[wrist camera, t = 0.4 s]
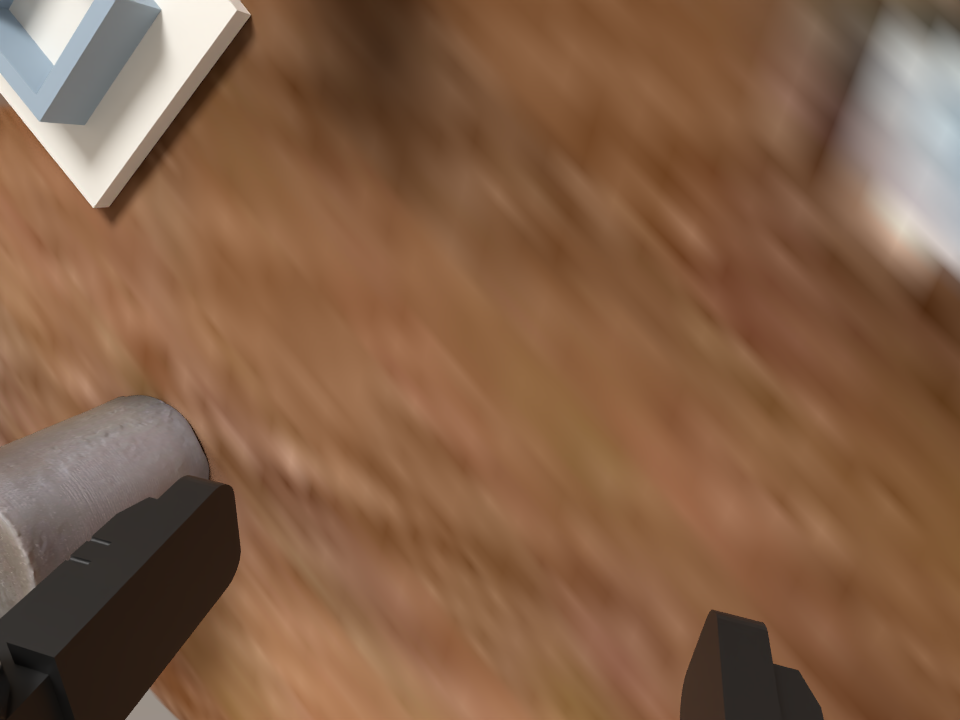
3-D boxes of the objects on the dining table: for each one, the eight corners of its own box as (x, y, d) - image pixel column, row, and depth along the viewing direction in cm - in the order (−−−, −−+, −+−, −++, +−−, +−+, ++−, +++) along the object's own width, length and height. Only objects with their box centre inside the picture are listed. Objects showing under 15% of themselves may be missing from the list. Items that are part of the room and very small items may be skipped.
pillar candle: (93, 480, 50) (-135, 599, 36) (110, 369, 46) (-135, 455, 33) (198, 540, 48) (2, 688, 35) (224, 430, 45) (17, 547, 31)
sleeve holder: (67, -215, 36) (-8, -261, 32) (251, 14, 36) (197, -4, 33) (-48, 13, 43) (-122, -3, 39) (109, 207, 43) (50, 210, 39)
